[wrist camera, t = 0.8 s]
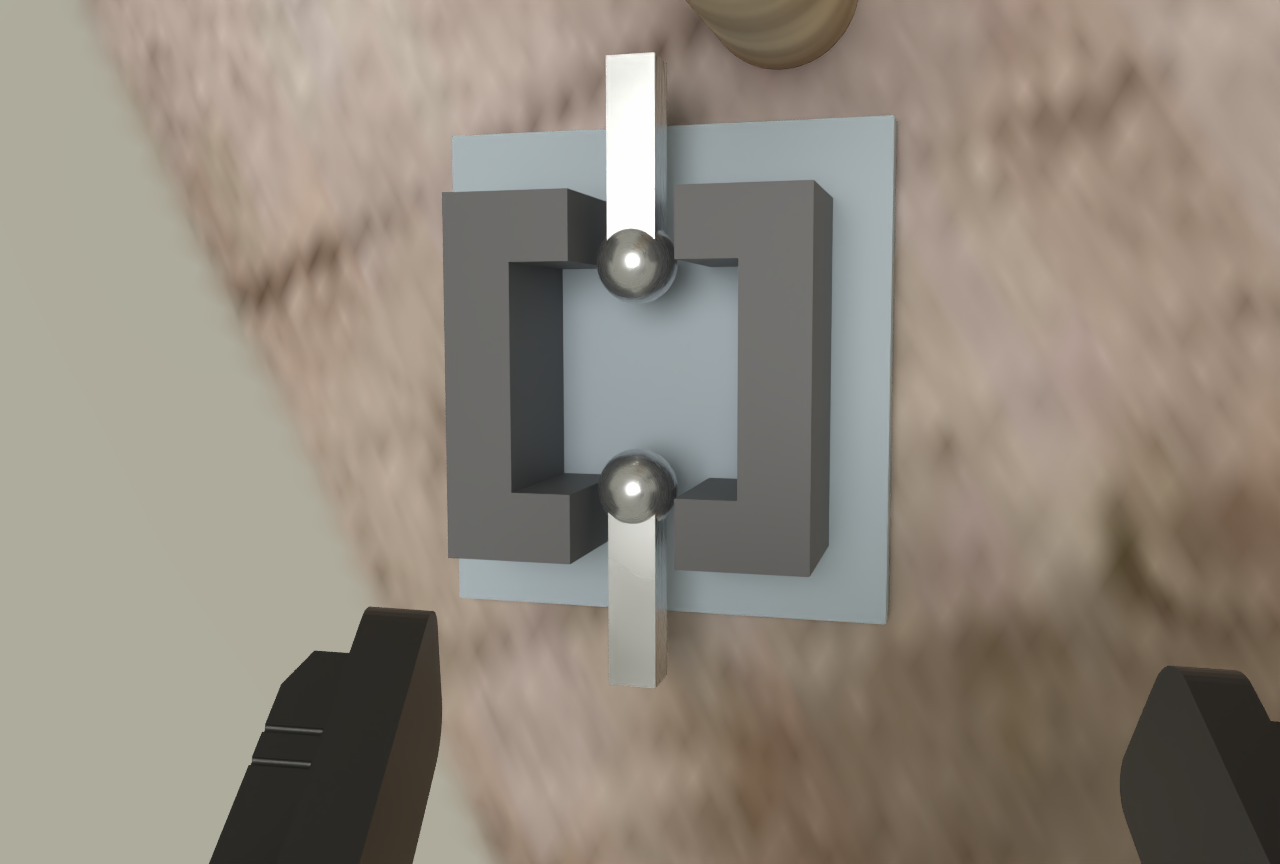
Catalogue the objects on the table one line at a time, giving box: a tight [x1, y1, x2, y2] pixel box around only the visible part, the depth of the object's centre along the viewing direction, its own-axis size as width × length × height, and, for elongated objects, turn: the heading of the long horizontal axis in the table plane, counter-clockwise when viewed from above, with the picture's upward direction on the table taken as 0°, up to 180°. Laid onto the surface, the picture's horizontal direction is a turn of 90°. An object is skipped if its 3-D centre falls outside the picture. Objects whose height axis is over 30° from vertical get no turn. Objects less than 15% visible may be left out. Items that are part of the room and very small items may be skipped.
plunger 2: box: [598, 449, 678, 688], centre depth 30 cm, size 6×2×2 cm, turn 0°
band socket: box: [442, 115, 897, 624], centre depth 30 cm, size 13×12×5 cm
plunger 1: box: [597, 52, 678, 304], centre depth 29 cm, size 6×2×2 cm, turn 0°
